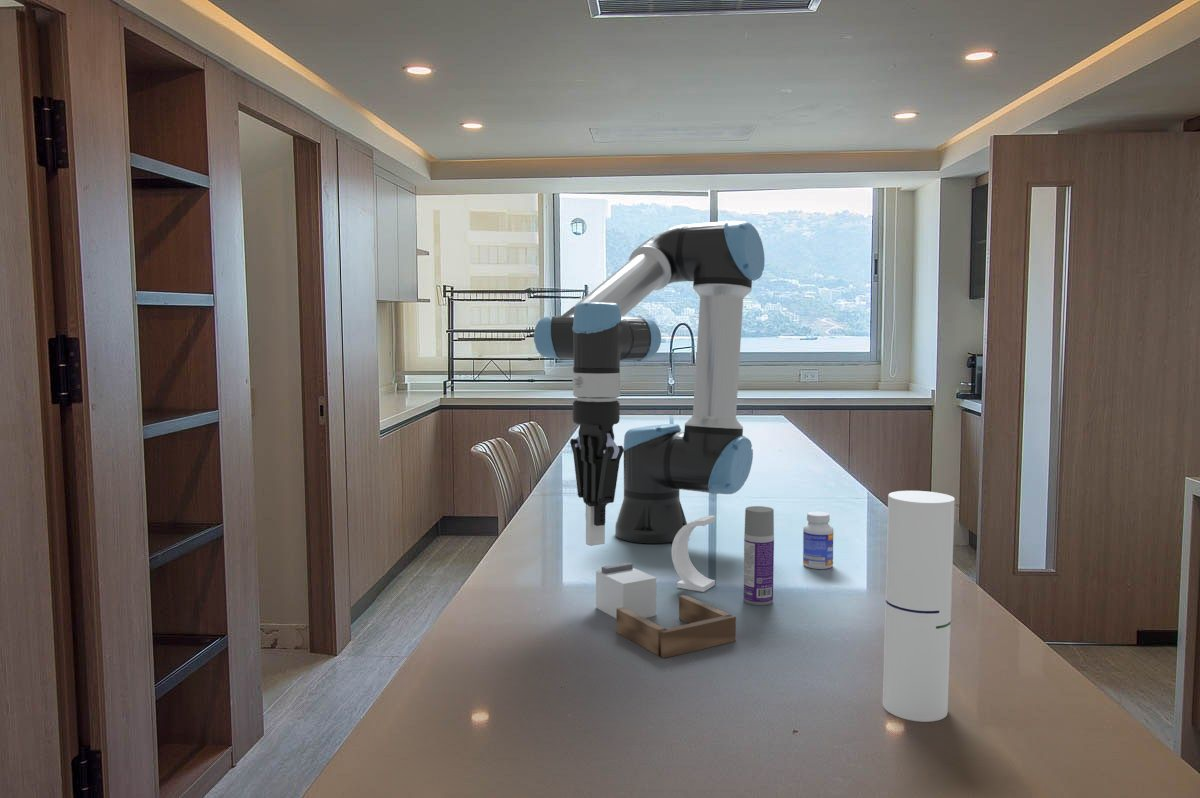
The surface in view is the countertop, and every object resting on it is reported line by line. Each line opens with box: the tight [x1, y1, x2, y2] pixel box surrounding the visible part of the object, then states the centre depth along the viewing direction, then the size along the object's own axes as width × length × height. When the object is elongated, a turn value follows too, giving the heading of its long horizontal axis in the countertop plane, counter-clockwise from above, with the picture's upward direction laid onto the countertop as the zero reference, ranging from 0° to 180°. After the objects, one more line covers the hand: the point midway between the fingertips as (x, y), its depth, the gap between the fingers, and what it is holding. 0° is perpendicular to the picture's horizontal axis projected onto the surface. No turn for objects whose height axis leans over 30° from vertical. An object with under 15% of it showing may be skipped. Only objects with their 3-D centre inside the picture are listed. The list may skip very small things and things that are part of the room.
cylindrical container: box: [882, 490, 956, 723], centre depth 103 cm, size 7×7×25 cm
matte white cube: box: [595, 562, 657, 619], centre depth 139 cm, size 8×6×7 cm
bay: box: [615, 594, 737, 659], centre depth 128 cm, size 12×12×4 cm
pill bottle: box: [802, 511, 834, 570], centre depth 164 cm, size 5×5×10 cm
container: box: [743, 505, 775, 606], centre depth 144 cm, size 5×5×15 cm
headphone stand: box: [671, 515, 716, 593], centre depth 152 cm, size 5×6×12 cm
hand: (595, 543), depth 146 cm, fingers closed
